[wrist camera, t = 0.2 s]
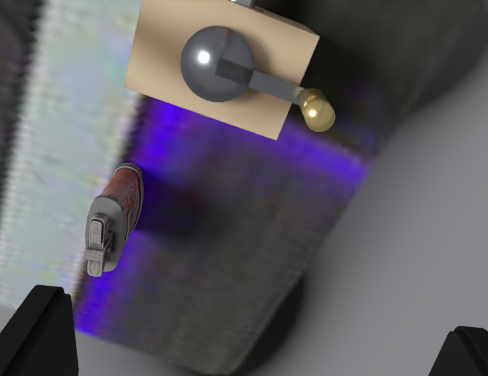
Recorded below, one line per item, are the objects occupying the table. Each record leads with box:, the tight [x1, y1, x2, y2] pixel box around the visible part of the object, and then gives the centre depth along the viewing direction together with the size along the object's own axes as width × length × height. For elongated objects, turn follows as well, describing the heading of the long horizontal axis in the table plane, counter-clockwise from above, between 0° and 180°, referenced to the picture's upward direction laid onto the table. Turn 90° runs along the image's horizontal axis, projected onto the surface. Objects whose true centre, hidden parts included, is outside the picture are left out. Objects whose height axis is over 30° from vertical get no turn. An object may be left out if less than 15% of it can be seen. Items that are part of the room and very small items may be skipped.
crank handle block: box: [180, 25, 335, 132], centre depth 26 cm, size 5×10×5 cm, turn 70°
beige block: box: [124, 0, 320, 140], centre depth 32 cm, size 8×12×8 cm, turn 70°
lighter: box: [85, 163, 144, 276], centre depth 38 cm, size 8×3×10 cm, turn 168°
